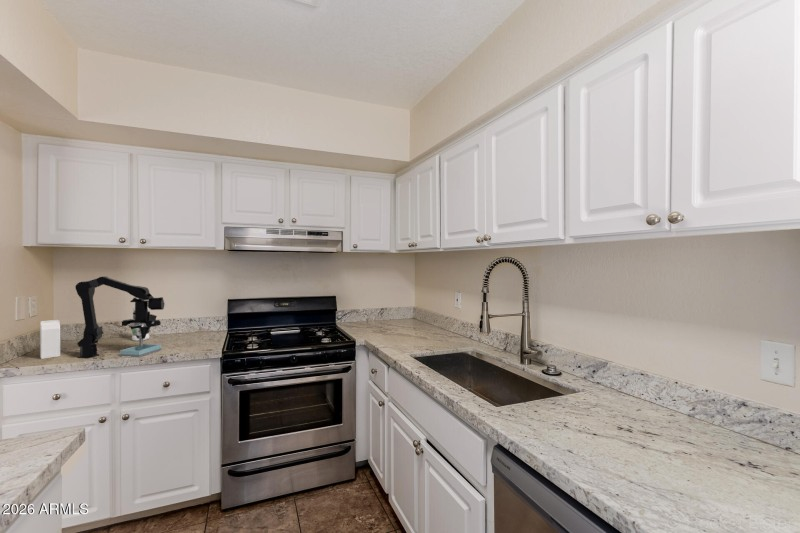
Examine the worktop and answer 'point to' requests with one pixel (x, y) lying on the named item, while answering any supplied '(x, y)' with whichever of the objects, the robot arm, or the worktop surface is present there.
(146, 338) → the vodka
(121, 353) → the tray
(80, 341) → the robot arm
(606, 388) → the worktop surface
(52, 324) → the milk carton
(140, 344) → the mechanical component
